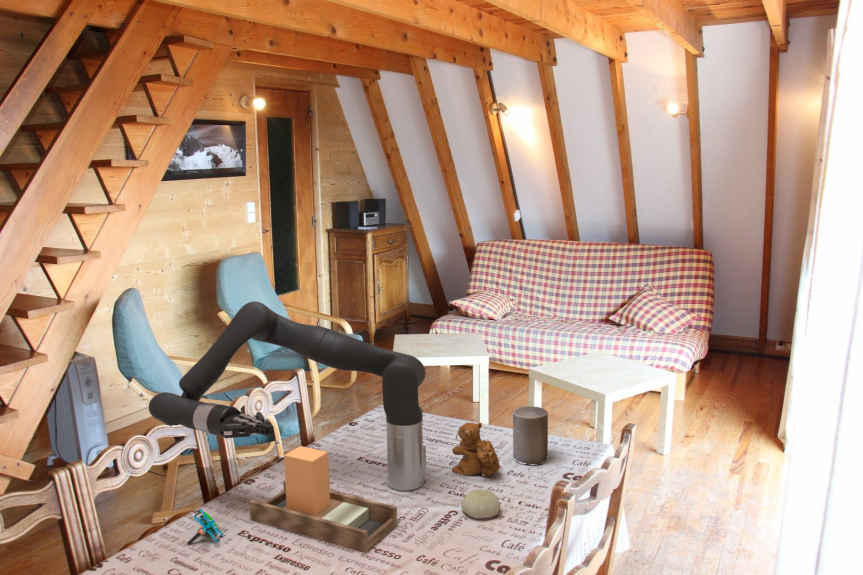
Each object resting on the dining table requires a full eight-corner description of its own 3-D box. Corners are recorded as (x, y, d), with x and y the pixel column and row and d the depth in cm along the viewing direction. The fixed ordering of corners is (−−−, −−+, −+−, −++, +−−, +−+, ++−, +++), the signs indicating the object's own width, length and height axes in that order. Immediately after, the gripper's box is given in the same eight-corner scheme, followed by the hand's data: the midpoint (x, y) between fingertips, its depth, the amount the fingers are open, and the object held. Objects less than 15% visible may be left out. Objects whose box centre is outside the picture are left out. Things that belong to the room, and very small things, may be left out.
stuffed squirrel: (469, 459, 196) (469, 414, 193) (510, 473, 186) (510, 426, 184) (446, 470, 188) (445, 423, 186) (487, 485, 179) (487, 436, 177)
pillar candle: (553, 456, 196) (553, 404, 194) (539, 468, 188) (539, 415, 186) (521, 449, 202) (521, 399, 199) (506, 461, 194) (506, 409, 191)
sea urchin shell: (505, 496, 169) (499, 484, 162) (499, 529, 164) (493, 518, 158) (468, 491, 172) (462, 479, 165) (462, 523, 167) (455, 512, 161)
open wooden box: (250, 519, 163) (249, 501, 162) (286, 496, 174) (285, 479, 173) (365, 552, 148) (365, 532, 147) (397, 525, 159) (396, 506, 159)
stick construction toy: (225, 537, 151) (201, 510, 150) (199, 561, 149) (175, 534, 148) (226, 526, 162) (204, 501, 162) (201, 548, 160) (179, 523, 160)
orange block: (286, 508, 162) (283, 455, 160) (302, 497, 167) (300, 446, 165) (314, 515, 158) (312, 461, 156) (330, 504, 163) (328, 452, 161)
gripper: (195, 413, 166) (251, 424, 158) (235, 397, 177) (288, 406, 169) (197, 443, 167) (253, 455, 159) (236, 425, 179) (290, 436, 171)
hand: (271, 430), depth 164 cm, fingers closed
